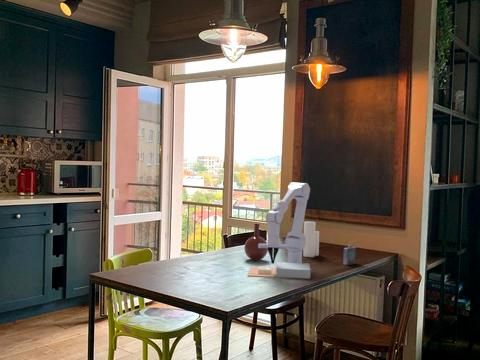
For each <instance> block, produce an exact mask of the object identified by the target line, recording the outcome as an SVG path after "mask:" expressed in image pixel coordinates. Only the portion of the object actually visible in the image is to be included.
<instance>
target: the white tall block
mask: <svg viewBox="0 0 480 360" xmlns="http://www.w3.org/2000/svg"><path fill="white" fill-rule="evenodd" d="M316 227H317V226H316V221H304V222H303V234H304V235H305V237H306V240H305V241H306V246H305V248H304V250H303V251H302V256H303V257H305V258H306V257H307V258H315V257H318V256H319V255H320V254H319V253H320V251H319V250H320V249H319V248H320V231H318V230H317V231H316Z"/></svg>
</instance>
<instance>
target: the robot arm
mask: <svg viewBox="0 0 480 360" xmlns="http://www.w3.org/2000/svg"><path fill="white" fill-rule="evenodd" d="M310 193H311V188H310V185H309V184H308V182H293V181H292V182H290V183H289V184H288V186H287V192H286V193H285V194H284V197H283V198H282V199H280V200H278V201H277V203H276V204H275V205H274V206H273V208H272V209H271V210H269V211H268V212H266V216H265V221H266V225H267V244H258V248H268V252H267V253H268V254H269V257H270V258H269V259H270V263H271V264H273V265H274V264H275V260H276V257H277V255H278V252H279V250H286V251H287V263H303V261H302V258H303V257H302V256H303V250H304V248H305V246H306V241H305V240H306V237H305V235H304V232H303V229H304V222H305V216H306V208H307V205H308V200H309V198H310ZM293 199H295V201H296V204H295V210H294V217H293V221H292V222H293V223H292V227H291V231H289V232H287V234H286V238H284V239H285V240H284V244H282V243H280V231H281V230H280V229H281V222H283V219H284V218H283V217H284V214H285V213H286V211H288V209H289V203H290V202H292V200H293Z"/></svg>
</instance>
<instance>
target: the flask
mask: <svg viewBox="0 0 480 360" xmlns="http://www.w3.org/2000/svg"><path fill="white" fill-rule="evenodd" d="M356 254H357V247H355V246H352V244H349V243H348V244H347V247H344V248H343V261H342V264H343V266H348V265H355V264H356Z"/></svg>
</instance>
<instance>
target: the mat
mask: <svg viewBox="0 0 480 360" xmlns="http://www.w3.org/2000/svg"><path fill="white" fill-rule="evenodd" d="M258 268H259V267H256V266H255V267H252V266H251V267H250V268H249V270H248V274H247V277H255V278H256V277H258V278H274V279H275V278H276V270H277V267H276V268H274V267H273V268H272V267H271V274H258Z"/></svg>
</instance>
